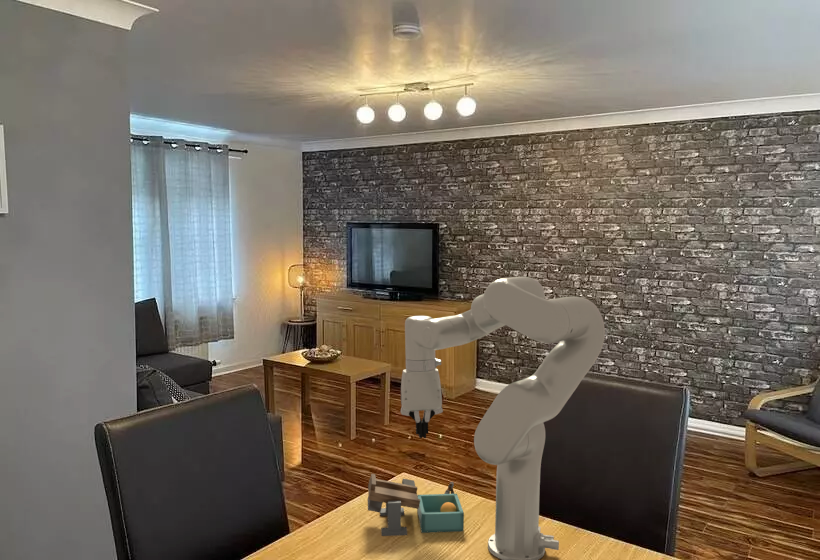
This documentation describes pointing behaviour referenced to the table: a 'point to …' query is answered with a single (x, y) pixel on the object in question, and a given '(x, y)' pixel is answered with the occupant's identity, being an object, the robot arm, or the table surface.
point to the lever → (391, 493)
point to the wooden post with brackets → (450, 489)
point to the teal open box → (439, 514)
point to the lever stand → (393, 519)
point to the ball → (448, 507)
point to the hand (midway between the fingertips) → (422, 436)
